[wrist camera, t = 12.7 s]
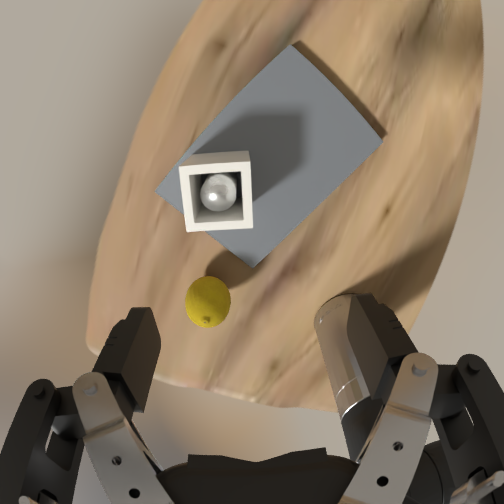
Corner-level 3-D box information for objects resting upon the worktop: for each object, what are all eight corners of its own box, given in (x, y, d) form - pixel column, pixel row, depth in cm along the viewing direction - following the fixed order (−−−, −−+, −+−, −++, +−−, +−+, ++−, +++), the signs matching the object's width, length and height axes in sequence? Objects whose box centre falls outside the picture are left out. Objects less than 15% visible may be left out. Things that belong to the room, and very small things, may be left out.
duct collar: (248, 150, 29) (250, 161, 23) (250, 203, 32) (253, 228, 26) (192, 154, 29) (178, 166, 23) (197, 206, 32) (186, 231, 26)
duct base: (377, 140, 30) (383, 141, 29) (252, 262, 37) (252, 268, 36) (288, 47, 25) (290, 44, 24) (158, 187, 32) (154, 191, 31)
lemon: (183, 287, 39) (172, 326, 32) (203, 257, 37) (195, 294, 30) (217, 305, 40) (213, 346, 33) (239, 278, 38) (239, 318, 31)
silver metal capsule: (243, 178, 31) (243, 193, 25) (223, 199, 32) (220, 218, 26) (220, 159, 30) (216, 170, 24) (201, 180, 31) (192, 196, 25)
